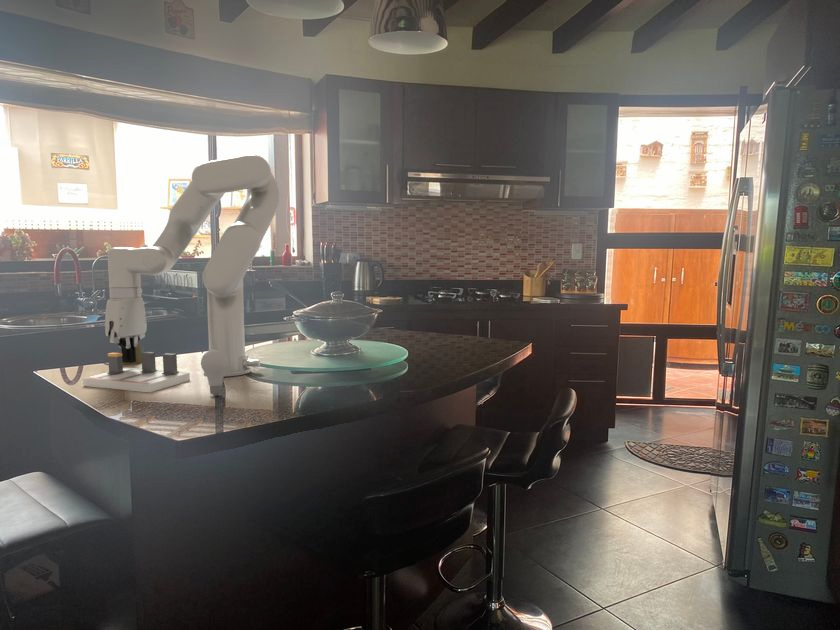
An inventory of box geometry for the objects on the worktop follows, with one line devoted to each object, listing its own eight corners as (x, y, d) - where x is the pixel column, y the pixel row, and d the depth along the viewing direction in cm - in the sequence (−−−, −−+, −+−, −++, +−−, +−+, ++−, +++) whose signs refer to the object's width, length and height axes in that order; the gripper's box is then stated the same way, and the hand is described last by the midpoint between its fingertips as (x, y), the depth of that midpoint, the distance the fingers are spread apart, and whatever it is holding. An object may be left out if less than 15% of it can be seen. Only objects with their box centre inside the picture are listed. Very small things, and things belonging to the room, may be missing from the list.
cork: (147, 361, 182) (145, 325, 181) (135, 364, 176) (133, 328, 175) (128, 360, 182) (126, 325, 181) (116, 364, 176) (114, 328, 175)
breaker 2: (170, 371, 155) (169, 352, 155) (179, 372, 154) (178, 353, 154) (161, 374, 152) (160, 354, 152) (170, 374, 151) (169, 355, 151)
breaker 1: (149, 370, 158) (148, 351, 157) (158, 370, 157) (157, 351, 156) (139, 372, 155) (138, 353, 154) (148, 373, 154) (147, 353, 153)
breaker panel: (127, 374, 162) (126, 367, 162) (189, 380, 155) (189, 372, 155) (83, 385, 149) (82, 377, 149) (149, 392, 142) (149, 384, 142)
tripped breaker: (116, 371, 156) (115, 352, 155) (125, 371, 155) (124, 352, 154) (106, 373, 153) (105, 354, 152) (115, 374, 152) (114, 354, 151)
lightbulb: (214, 400, 135) (212, 352, 133) (196, 396, 138) (194, 350, 137) (235, 394, 140) (233, 349, 139) (218, 391, 143) (216, 346, 142)
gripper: (136, 291, 164) (139, 356, 166) (90, 295, 150) (94, 366, 152) (158, 292, 162) (161, 358, 164) (113, 296, 148) (117, 368, 150)
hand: (129, 362), depth 158 cm, fingers closed
